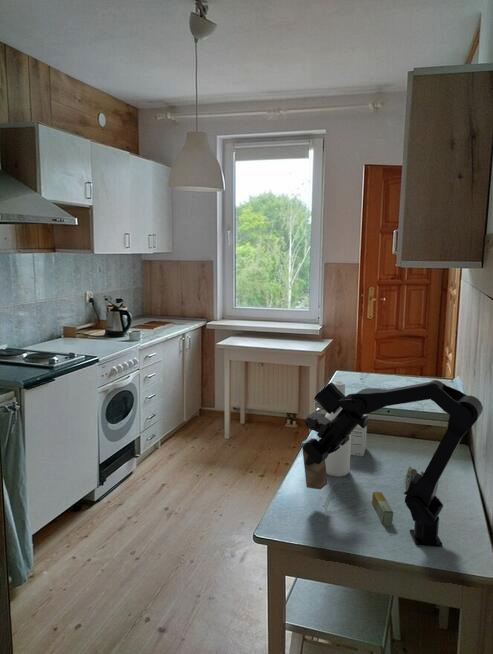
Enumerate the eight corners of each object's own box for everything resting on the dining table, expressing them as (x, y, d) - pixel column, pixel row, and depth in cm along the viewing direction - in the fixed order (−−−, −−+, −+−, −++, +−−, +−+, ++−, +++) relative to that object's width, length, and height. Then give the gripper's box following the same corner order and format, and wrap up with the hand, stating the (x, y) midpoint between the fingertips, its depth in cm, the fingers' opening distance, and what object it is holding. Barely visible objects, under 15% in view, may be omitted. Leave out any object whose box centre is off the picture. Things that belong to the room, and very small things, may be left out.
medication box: (392, 526, 135) (393, 512, 134) (382, 526, 135) (383, 512, 134) (380, 503, 147) (381, 490, 146) (371, 503, 147) (372, 490, 146)
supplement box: (341, 444, 190) (343, 405, 188) (366, 447, 187) (367, 408, 185) (338, 453, 181) (339, 413, 179) (363, 457, 179) (365, 416, 176)
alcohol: (334, 463, 173) (337, 377, 168) (355, 472, 167) (358, 383, 162) (316, 470, 167) (319, 382, 163) (338, 480, 161) (341, 388, 156)
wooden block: (327, 483, 145) (322, 439, 144) (320, 489, 141) (315, 443, 140) (313, 481, 147) (308, 437, 146) (306, 487, 144) (301, 442, 143)
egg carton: (408, 477, 164) (409, 465, 163) (432, 482, 161) (433, 469, 160) (402, 490, 155) (402, 477, 154) (428, 496, 151) (429, 483, 151)
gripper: (335, 396, 148) (305, 430, 155) (305, 413, 133) (273, 450, 140) (363, 424, 144) (332, 458, 151) (336, 445, 129) (302, 482, 136)
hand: (310, 461), depth 145 cm, fingers closed on wooden block, 4 cm apart
